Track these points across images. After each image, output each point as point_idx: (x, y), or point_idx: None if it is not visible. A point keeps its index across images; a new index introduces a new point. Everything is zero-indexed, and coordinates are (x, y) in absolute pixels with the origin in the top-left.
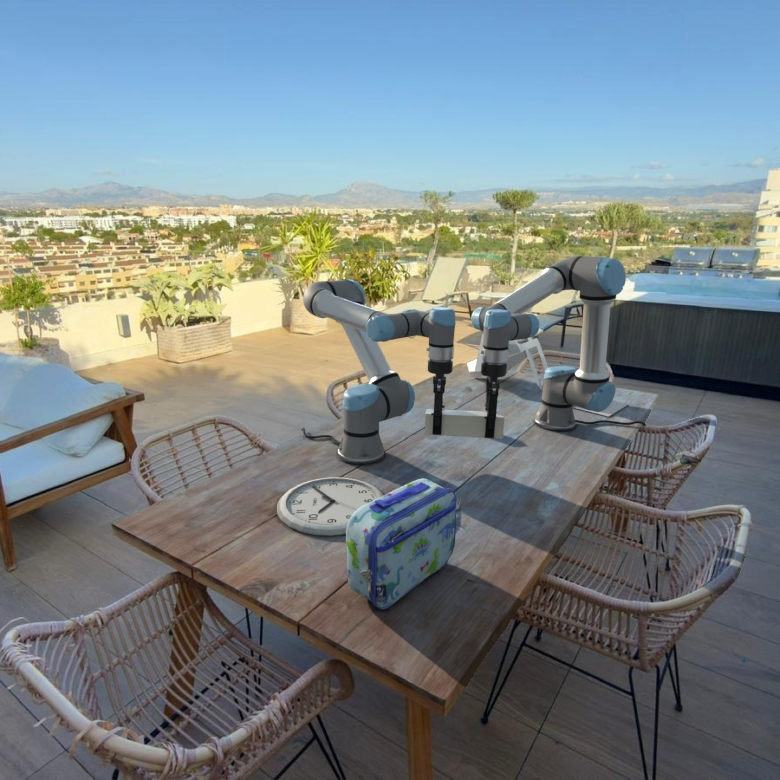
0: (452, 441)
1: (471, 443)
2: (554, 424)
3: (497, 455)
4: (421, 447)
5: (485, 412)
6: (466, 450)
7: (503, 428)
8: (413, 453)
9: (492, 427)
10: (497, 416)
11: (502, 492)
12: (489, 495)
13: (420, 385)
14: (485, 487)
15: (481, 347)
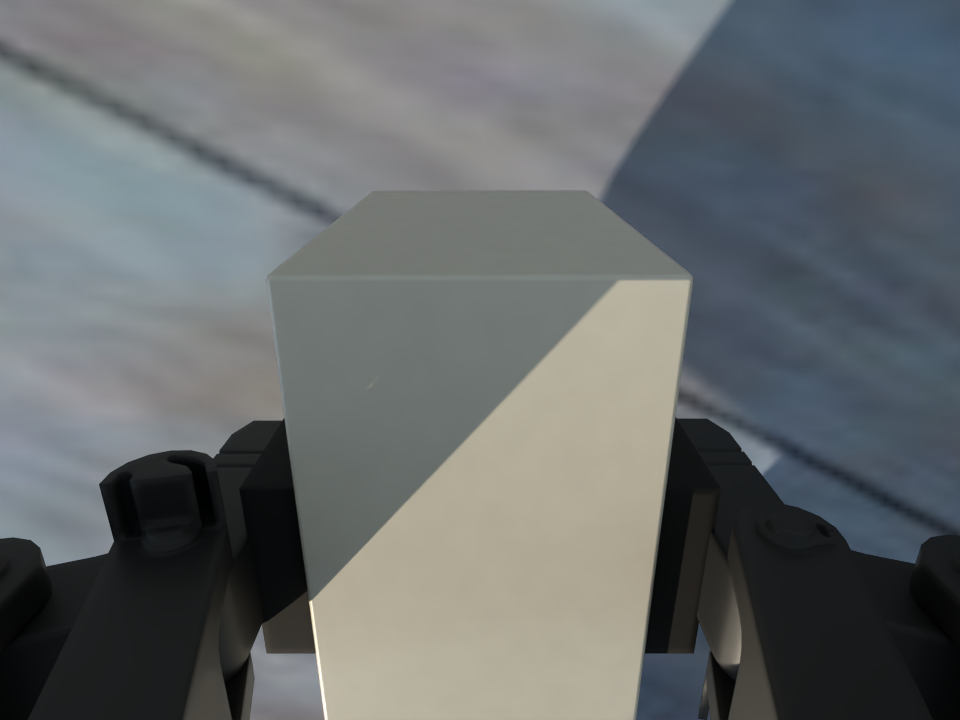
0: (43, 492)
1: (20, 357)
2: None
3: (199, 148)
4: None
5: (373, 667)
6: (180, 397)
7: (620, 219)
8: None
9: (729, 442)
10: (628, 448)
11: (890, 163)
12: (926, 264)
13: None
14: (804, 285)
15: None
